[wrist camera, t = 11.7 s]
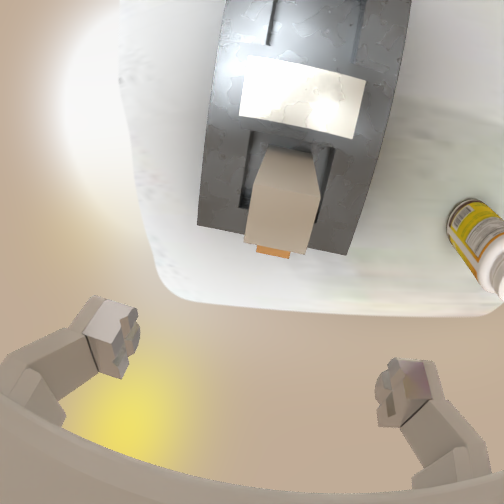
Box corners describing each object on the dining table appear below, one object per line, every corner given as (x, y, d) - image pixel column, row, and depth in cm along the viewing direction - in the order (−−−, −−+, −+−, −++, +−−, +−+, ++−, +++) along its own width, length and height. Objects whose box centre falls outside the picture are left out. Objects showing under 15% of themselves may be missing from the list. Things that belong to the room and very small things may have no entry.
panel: (244, -44, 16) (238, -58, 14) (402, -11, 16) (414, -20, 13) (206, 210, 29) (196, 225, 27) (342, 238, 29) (346, 256, 26)
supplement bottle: (482, 245, 27) (528, 307, 18) (440, 247, 28) (481, 314, 19) (492, 197, 24) (550, 250, 15) (448, 196, 25) (502, 253, 16)
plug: (268, 144, 25) (253, 183, 16) (312, 153, 25) (320, 197, 16) (260, 193, 27) (241, 253, 19) (300, 201, 27) (301, 266, 19)
